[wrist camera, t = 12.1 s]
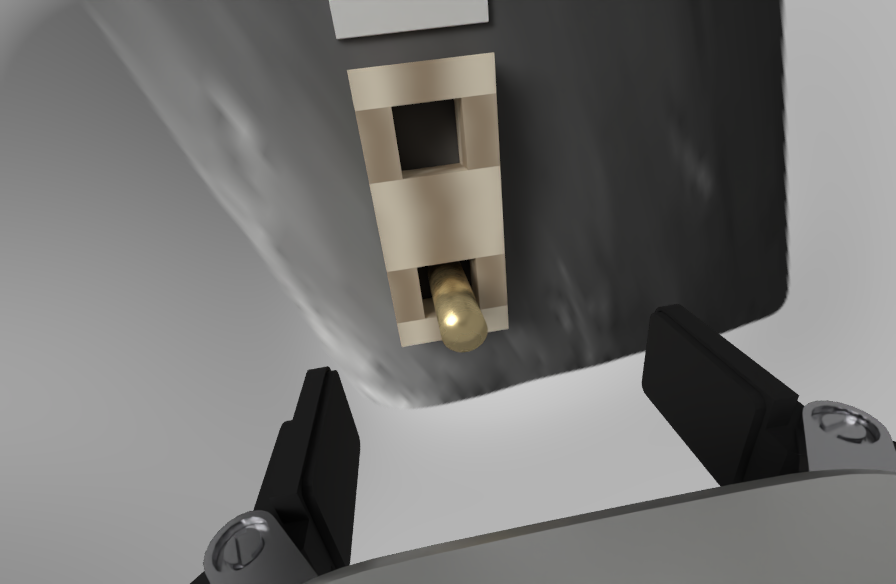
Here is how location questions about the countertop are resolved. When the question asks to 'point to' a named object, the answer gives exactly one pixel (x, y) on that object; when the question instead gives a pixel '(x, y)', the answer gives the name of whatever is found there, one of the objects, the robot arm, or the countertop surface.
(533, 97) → the countertop surface
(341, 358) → the countertop surface
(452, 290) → the brass peg
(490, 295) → the hole block
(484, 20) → the rubber mat
